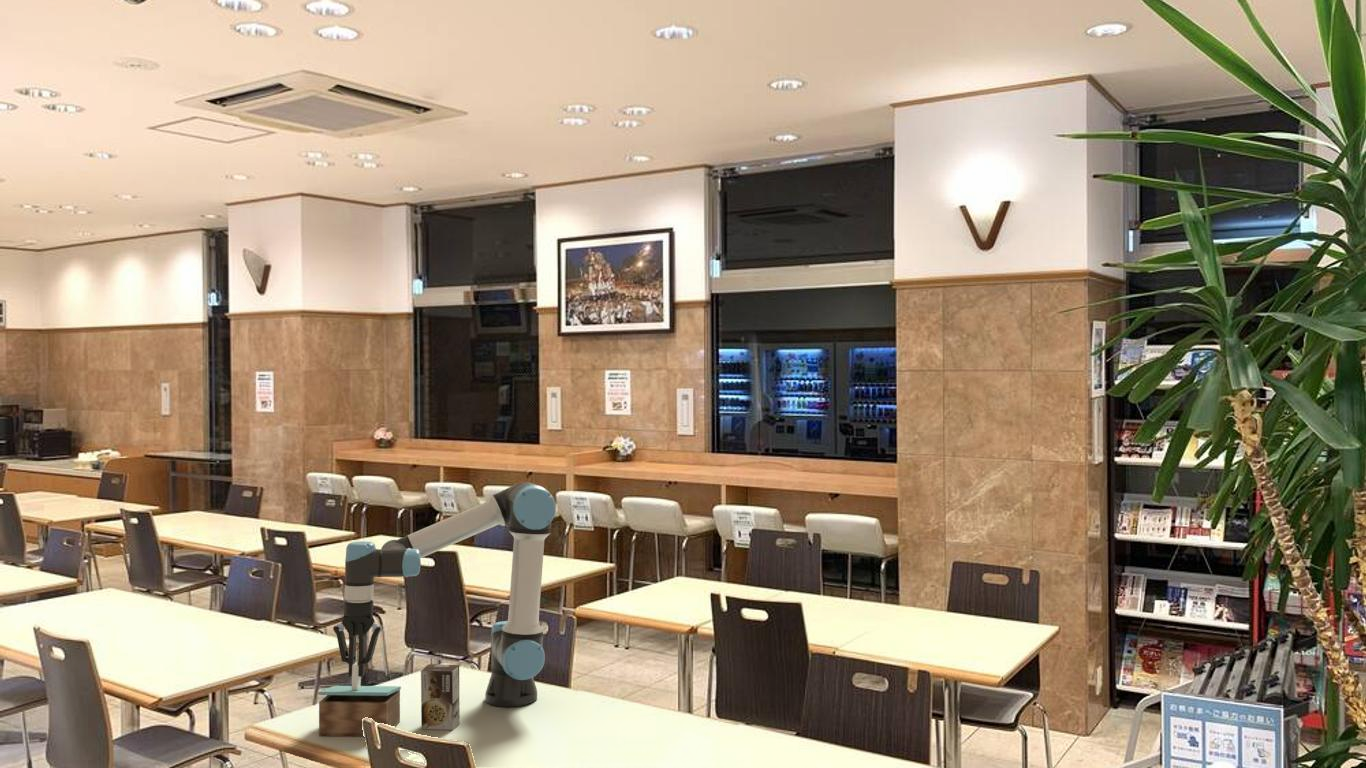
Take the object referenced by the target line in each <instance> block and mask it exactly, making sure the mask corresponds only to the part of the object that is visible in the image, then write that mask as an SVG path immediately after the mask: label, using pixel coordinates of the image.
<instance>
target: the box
mask: <svg viewBox="0 0 1366 768" xmlns="http://www.w3.org/2000/svg"><path fill="white" fill-rule="evenodd" d="M318 702H319V703H318V736H319V737H342V738H343V737H348V738H349V737H352V738H353V737H354V738H355V737H357V738H359V737H363V730H362V719H363V718H365V717H368V718H372V719H373V720H374V721H375V722H377V723H384V724H388V725H391V726H395V728H396V727H397V726H398V725H399V724H400V722H401V711H400V710H401V689H400V690H398V691H396V692H394V693H392V694H390V695H388V696H369V695H325V696H324V697H323V698H322V699H321V700H320V701H318ZM363 738H364V737H363Z"/></svg>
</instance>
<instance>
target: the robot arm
mask: <svg viewBox="0 0 1366 768" xmlns="http://www.w3.org/2000/svg"><path fill="white" fill-rule="evenodd" d="M556 506H557V505H556V502H555V499H554V496H553V495H552V494H551V492H550V491H549V490H547V488H545V487H543V486H541V485H538V484H536V483H534V482H531V481H522V482H521V481H520V482H519V483H518V482H517V483H516V484H514V485H511V486H509V487H506V488H505V489H503V490H501V491H499V492H497V493H495V494H492V495H490V498H489V499H488V501H487V500H486V501H484V502H483V503H480V504H478V505H476V506H472V507H471V508H468V509H467V510H464V511H461V512H459V513H455V514H454V515H452V516H450V517H447V518H445V519H442V520H440V521H438V522H435V523H433V524H430V525H429V526H426V527H423V528H422V529H419V530H417V531H414V532H413V533H410V534H408V535H406V536H402V537H400V538H399V539H391V540H388V541H386V542H385V543H383V545H381V549H378V548H376V544H375V542H373V541H363V540H362V541H352V542H349V543H348V544H347V545H346V549H345V550H346V551H345V560H344V561H345V562H344V563H345V564H344V593H343V594H344V597H343V598H344V600H345V601H344V602H343V618H342V619H341V622H340V623H338V624H336V625H334V626H333V628H332V630H333V631H334V633H335V635H336V639H337V643H338V648H339V654H340V659H341V662H343V663H347V664H348V677H351V686H352V690H358V689H359V688H360V687H361V686H362V685H361V683H362V682H361V680H362V677H364V675H365V670H366V663H367V664H368V663H370V661H372V660H373V657H374V654H375V650H376V646H377V642H378V640H379V634H380V633H381V632H382V631H383V628H384V627H383V626H382V625H379V624H377V623H376V621H375V619H374V601H373V599H374V594H375V593H374V590H375V578H402V577H403V578H408V577H417V576H418V575H419V574H420V573H421V559H422V558H424V557H427V556H429V555H431V554H433V553H434V554H435V552H438V551H441V550H443V549H445V548H448V547H449V546H453V545H454V544H456V543H459V542H461V541H463V540H466V539H469V538H471V537H473V536H475V535H478V534H480V533H482V532H484V531H487V530H489V529H491V528H494V527H495V526H496V527H497V526H498V525H500V526H503V527H504V526H506V525H509V527H508V532H509V533H510V535H512V537H513V545H512V546H513V549H512V560H511V561H512V562H511V575H510V589H509V591H510V592H509V603H508V614H507V615H508V616H507V618H508V619H507V620H503V621H497V622H494V623H493V624H492V626H491V633H490V635H491V675H490V678H489V680H488V683H487V687H486V690H485V697H484V699H485V702H486V703H487V704H488V705H491V706H495V707H500V708H501V707H502V708H504V707H505V708H510V707H511V708H513V707H521V706H526V705H530V704H533V703H534V702H536V701H537V700H538V689H537V685H536V682H535V680H534V677H536V676H537V675H538V674H539V673H540V672H541V671H542V670H543V667H544V666H545V660H546V654H545V650H544V648H543V642H544V641H543V639H544V636H543V635H544V628H543V627H542V626H541V625H540V623H539V620H540V619H539V618H540V605H541V604H540V603H541V592H542V579H543V577H542V576H543V564H544V554H545V553H544V549H545V540H546V538H548V536H550V535H551V530H552V529H551V527H552V521H553V519H554V518H555V515H556V510H557V507H556ZM344 630H346V632H347V633H348V645H347V640H346V639H347V638H346V635H345V632H344ZM370 630H371V632H372V634H371V636H370V640H369V643H368V644H369V645H368V648H367V635H368V632H369V631H370ZM357 639H358V652H357ZM366 650H367V652H366ZM357 653H358V654H357ZM357 655H358V656H357ZM356 657H358V659H356ZM356 661H357V662H356ZM536 699H537V700H536ZM535 700H536V701H535ZM532 702H533V703H532ZM529 703H530V704H529Z"/></svg>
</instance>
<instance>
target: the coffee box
mask: <svg viewBox="0 0 1366 768" xmlns="http://www.w3.org/2000/svg"><path fill="white" fill-rule="evenodd" d="M420 693H421V695H420V697H421V698H420V699H421V704H420V705H421V706H420V707H421V710H420V713H421V714H420V715H421V720H420V721H421V728H420V729H421V730H438V731H439V730H441V731H442V730H444V731H445V730H446V731H454V729H455V728H457V726H459V725H460V722H461V721H460V719H461V717H460V716H461V715H460V714H461V713H460V709H461V708H460V703H461V702H460V664H442V663H441V664H432V663H431V664H427V665H426V666H424V667H423V668H422V670H420Z"/></svg>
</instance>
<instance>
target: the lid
mask: <svg viewBox="0 0 1366 768" xmlns="http://www.w3.org/2000/svg"><path fill="white" fill-rule="evenodd" d="M401 688H402V687H401V685H400V686H399V685H398V686H396V685H395V686H394V685H393V686H392V685H391V686H386V685H385V686H383V685H377V686H376V685H361V687H360V688H359V689H358V690H352V685H332V686H331V687H327V688H325V689H322V690H319V691H318V693H317V695H318V696H327V695H369V696H388V695H390V694H392V693H394V692H396V691H398V690H400V691H401Z"/></svg>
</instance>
